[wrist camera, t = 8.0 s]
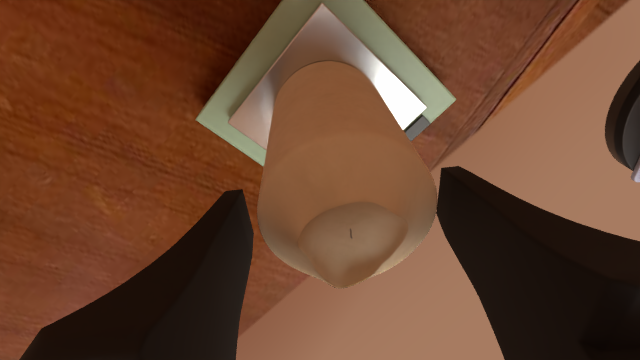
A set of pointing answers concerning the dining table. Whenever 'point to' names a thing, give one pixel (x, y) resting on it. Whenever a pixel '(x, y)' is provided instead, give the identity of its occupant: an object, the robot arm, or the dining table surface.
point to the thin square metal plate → (317, 46)
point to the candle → (341, 179)
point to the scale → (277, 34)
